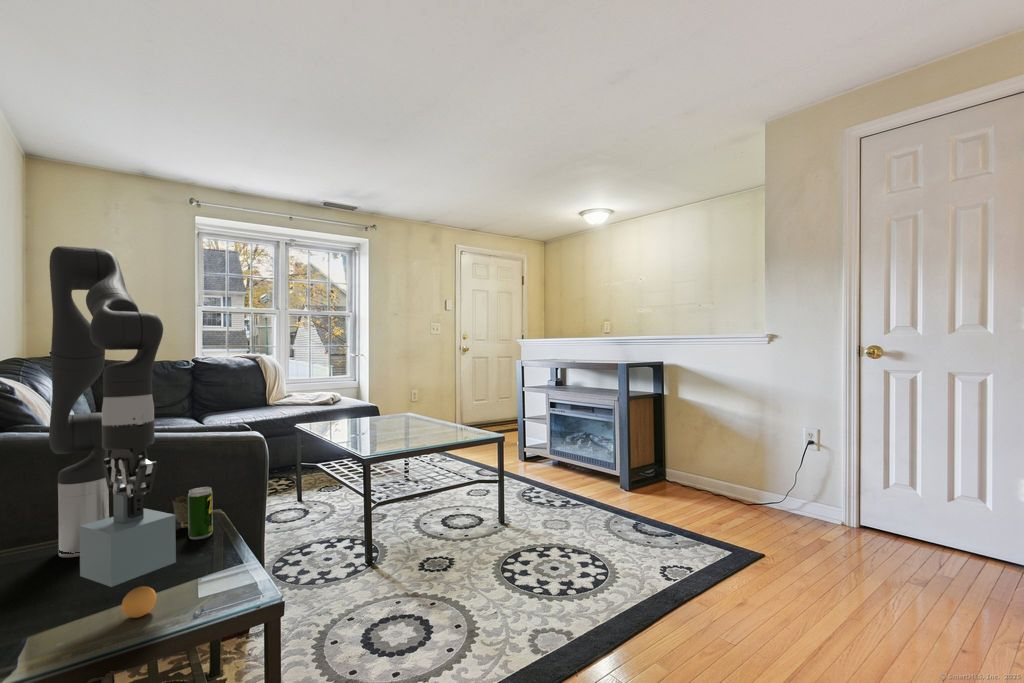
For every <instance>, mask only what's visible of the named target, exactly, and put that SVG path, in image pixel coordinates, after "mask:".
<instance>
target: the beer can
mask: <svg viewBox="0 0 1024 683" xmlns="http://www.w3.org/2000/svg"><path fill="white" fill-rule="evenodd" d="M187 496H188V528H187V530H188V531H187V532H188V533H187V534H188V535H187V536H188V537H189V539H190V540H202V539H206V538H208V537H210V536H211V535H213V532H214V516H213V515H214V514H213V513H214V512H213V511H214V509H213V508H214V507H213V504H214V502H213V498H214V497H213V490H212V487H210V486H203V487H196V488H195V487H194V488H192V489H190V490H188V493H187Z"/></svg>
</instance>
